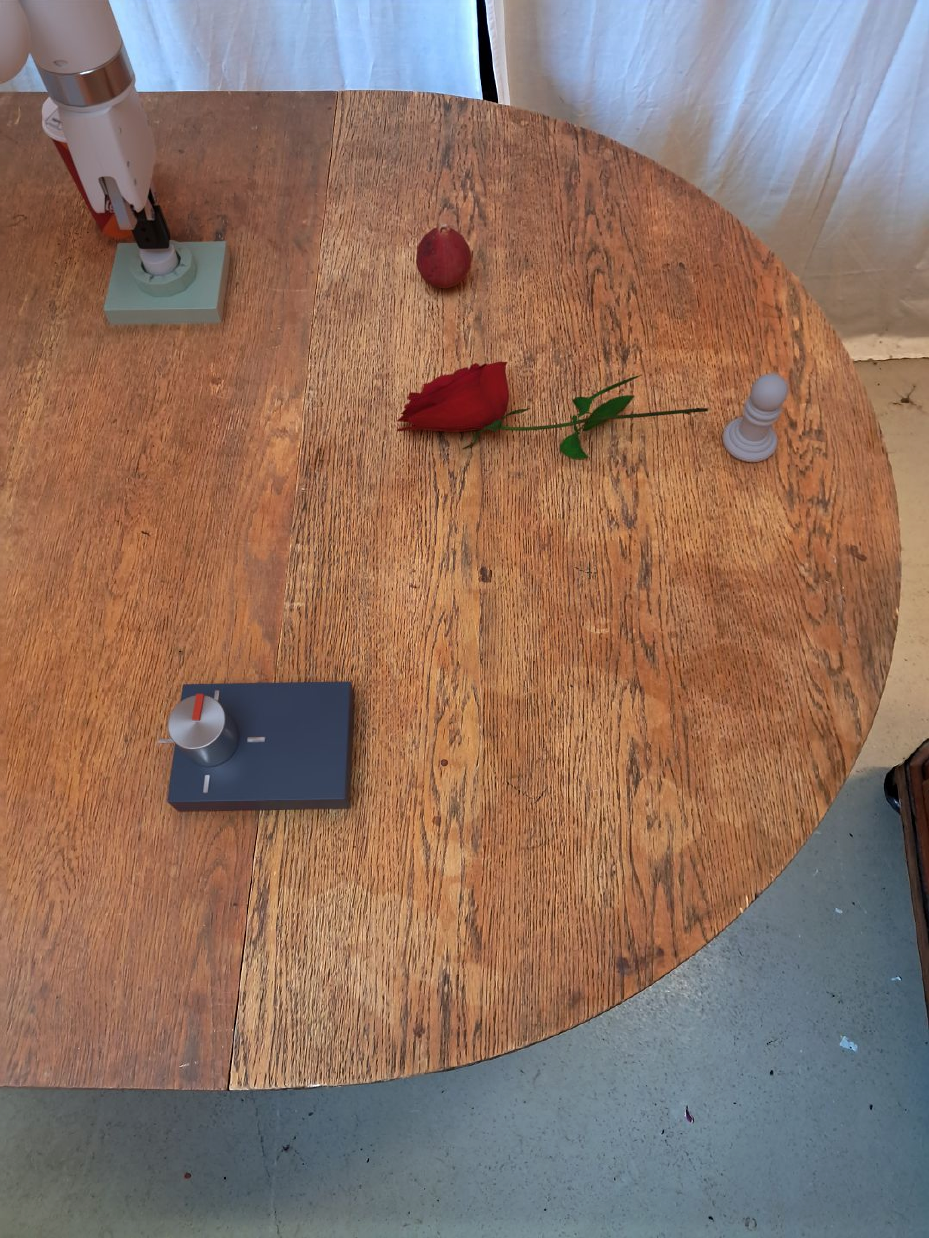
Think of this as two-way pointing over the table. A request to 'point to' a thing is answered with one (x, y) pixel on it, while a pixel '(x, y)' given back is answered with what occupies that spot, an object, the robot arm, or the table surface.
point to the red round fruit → (443, 257)
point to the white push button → (159, 260)
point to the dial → (203, 730)
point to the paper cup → (55, 131)
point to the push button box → (169, 286)
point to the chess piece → (757, 420)
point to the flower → (501, 406)
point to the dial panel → (273, 749)
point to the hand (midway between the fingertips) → (155, 243)
